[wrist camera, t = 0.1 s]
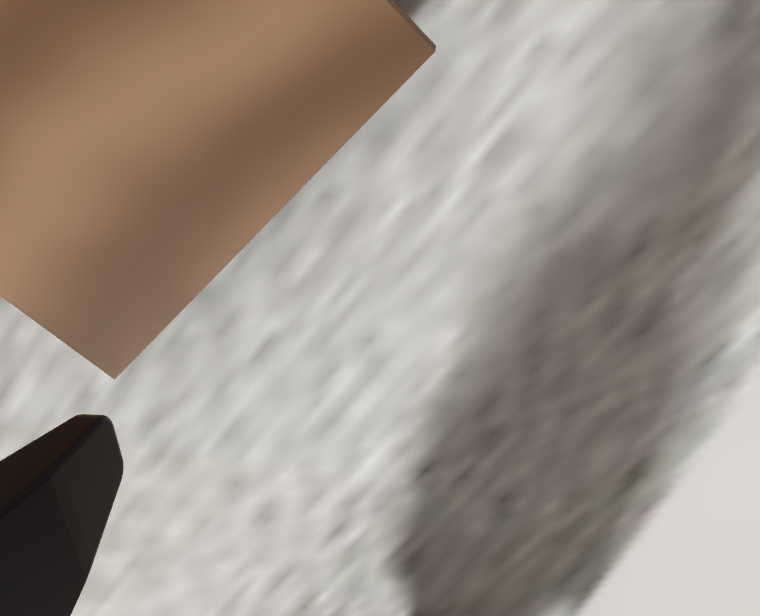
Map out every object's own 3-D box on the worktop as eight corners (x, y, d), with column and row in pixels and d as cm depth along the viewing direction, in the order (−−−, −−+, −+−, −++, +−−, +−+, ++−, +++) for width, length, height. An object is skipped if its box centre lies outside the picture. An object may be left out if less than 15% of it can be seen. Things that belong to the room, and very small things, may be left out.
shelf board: (437, 37, 21) (434, 51, 19) (136, 348, 27) (114, 379, 26) (-60, -495, 16) (-123, -541, 14) (-273, 39, 23) (-333, 51, 21)
